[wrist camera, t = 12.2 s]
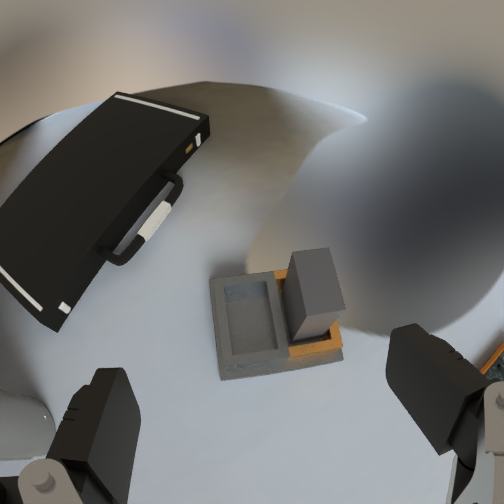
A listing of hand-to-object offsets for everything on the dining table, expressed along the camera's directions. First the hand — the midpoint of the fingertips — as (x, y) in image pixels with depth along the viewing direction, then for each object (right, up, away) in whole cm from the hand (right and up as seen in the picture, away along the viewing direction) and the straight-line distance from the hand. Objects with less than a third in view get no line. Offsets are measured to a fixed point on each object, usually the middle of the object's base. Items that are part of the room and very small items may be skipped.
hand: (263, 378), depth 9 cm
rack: (+3, -6, +34) cm, 35 cm away
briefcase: (-28, +13, +44) cm, 54 cm away
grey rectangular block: (+6, -5, +34) cm, 35 cm away
